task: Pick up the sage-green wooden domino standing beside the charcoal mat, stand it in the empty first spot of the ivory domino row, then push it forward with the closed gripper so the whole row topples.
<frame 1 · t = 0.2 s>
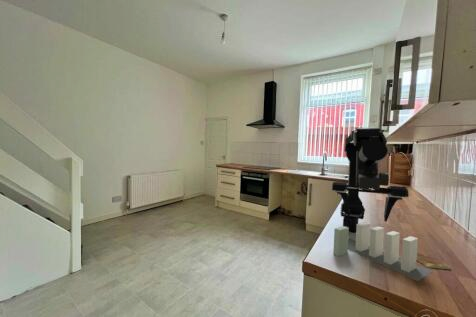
hand: (366, 218, 60), 15 cm above the worktop, tool pointing down, fingers open, 9 cm apart
ivory domino 5: (408, 268, 60), resting on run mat
sage domino: (340, 254, 68), on the worktop
ivory domino 4: (391, 261, 64), resting on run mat
shard: (422, 264, 65), on the worktop
ivory domino 2: (362, 249, 72), resting on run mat
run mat: (377, 256, 67), on the worktop
ivory domino 3: (375, 254, 68), resting on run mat
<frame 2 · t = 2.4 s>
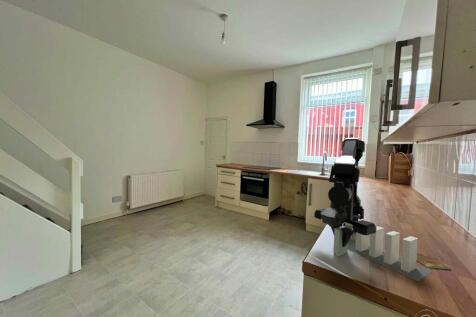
hand: (340, 245, 68), 3 cm above the worktop, tool pointing down, fingers closed on sage domino, 2 cm apart
sage domino: (340, 254, 68), on the worktop, touching gripper
everything else where it was.
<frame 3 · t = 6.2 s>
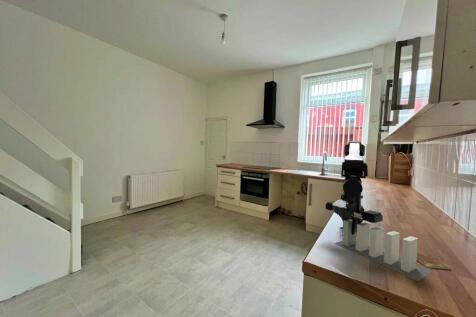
hand: (350, 233, 76), 4 cm above the worktop, tool pointing down, fingers closed on sage domino, 2 cm apart
sage domino: (348, 244, 75), resting on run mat, touching gripper
ivory domino 2: (362, 249, 72), resting on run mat, touching gripper
everything else where it was.
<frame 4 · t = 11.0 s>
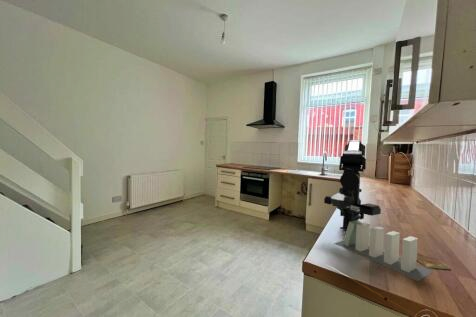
hand: (348, 227, 76), 7 cm above the worktop, tool pointing down, fingers closed
sage domino: (348, 243, 75), point 1 cm above the worktop, tilted 14°, touching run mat
ivory domino 2: (362, 249, 72), resting on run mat
everything else where it was.
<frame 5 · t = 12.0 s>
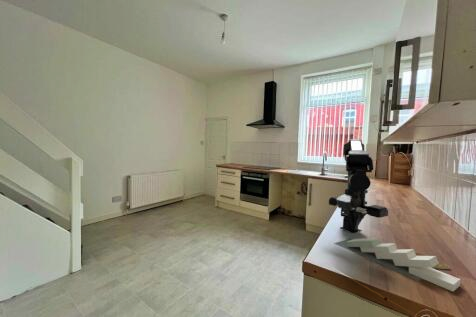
hand: (354, 229, 74), 6 cm above the worktop, tool pointing down, fingers closed
ivory domino 5: (412, 267, 59), point 1 cm above the worktop, tilted 90°, touching ivory domino 4, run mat
sage domino: (351, 242, 75), point 1 cm above the worktop, tilted 67°, touching ivory domino 2
ivory domino 4: (397, 260, 62), point 2 cm above the worktop, tilted 66°, touching ivory domino 3, ivory domino 5
ivory domino 2: (364, 247, 71), point 1 cm above the worktop, tilted 67°, touching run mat, sage domino
ivory domino 3: (379, 254, 67), point 1 cm above the worktop, tilted 66°, touching ivory domino 4
everything else where it was.
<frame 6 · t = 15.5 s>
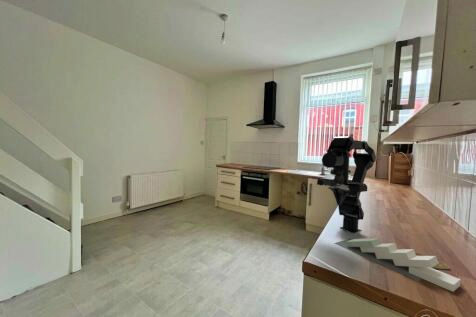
hand: (339, 205, 83), 13 cm above the worktop, tool pointing down, fingers closed
sage domino: (351, 242, 75), point 1 cm above the worktop, tilted 67°, touching ivory domino 2, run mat
ivory domino 2: (364, 247, 71), point 1 cm above the worktop, tilted 67°, touching ivory domino 3, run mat, sage domino
ivory domino 3: (379, 254, 67), point 1 cm above the worktop, tilted 66°, touching ivory domino 2, ivory domino 4, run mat
everything else where it was.
at the end: ivory domino 5 tilted 90°; sage domino tilted 67°; sage domino inside the target area (1.2 cm from its centre), point 1.2 cm above the worktop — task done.
